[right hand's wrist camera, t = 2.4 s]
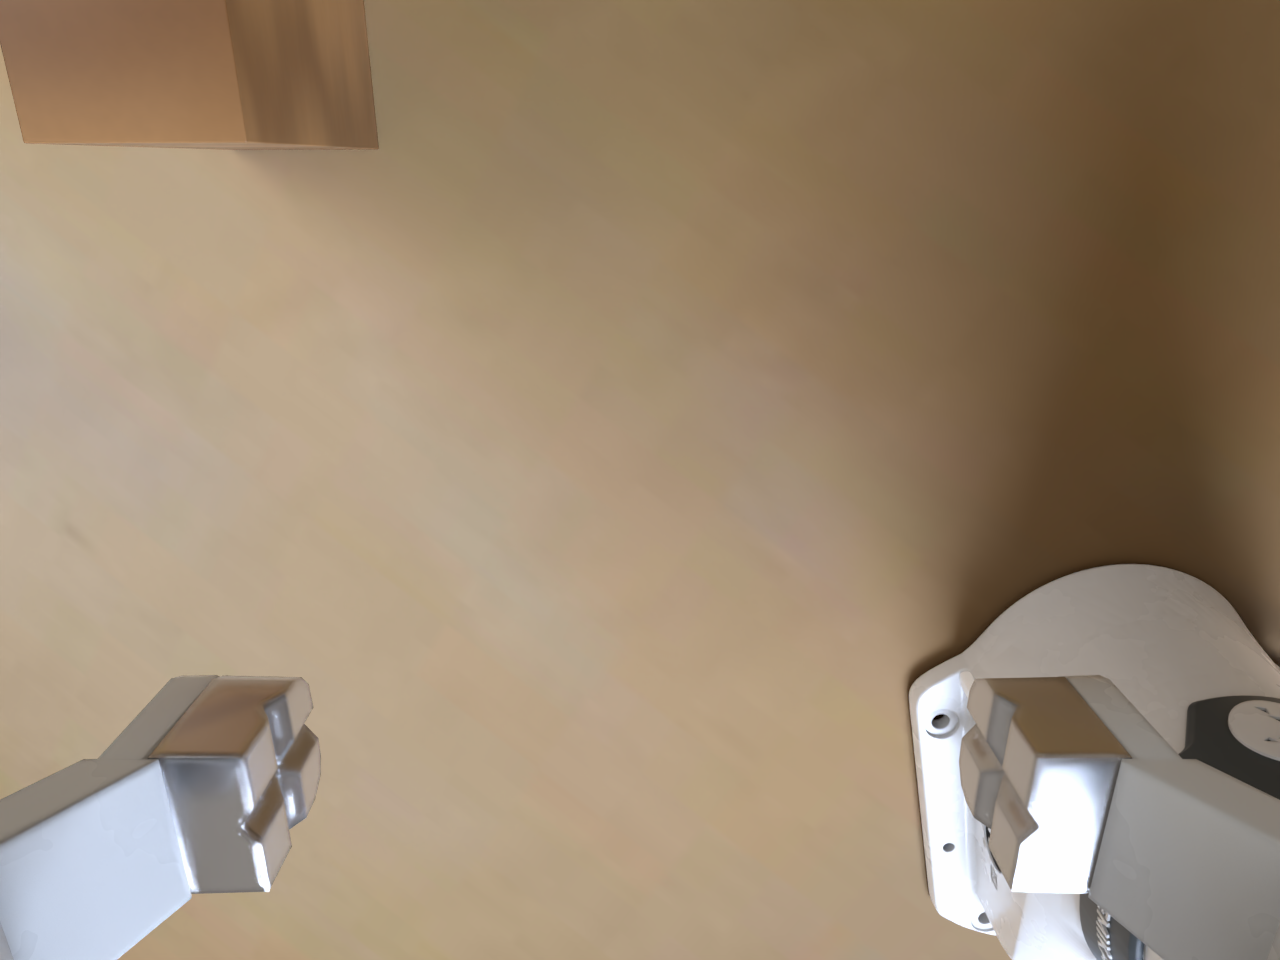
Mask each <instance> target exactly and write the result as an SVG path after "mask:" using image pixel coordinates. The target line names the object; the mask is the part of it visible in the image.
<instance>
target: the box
mask: <svg viewBox="0 0 1280 960" xmlns="http://www.w3.org/2000/svg"><path fill="white" fill-rule="evenodd" d="M0 44H1V48H2V52H3V57H4V61H5V65H6V69H7V73H8V78H9V82H10V86H11V90H12V94H13V99H14V103H15V107H16V111H17V115H18V120H19V124H20V128H21V132H22V137H23V141H24V143H29V144H62V145H95V146H128V147H162V148H195V149H228V150H258V149H378V148H379V147H378V137H377V127H376V118H375V108H374V98H373V88H372V79H371V69H370V59H369V49H368V40H367V30H366V20H365V10H364V0H0Z"/></svg>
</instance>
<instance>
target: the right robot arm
mask: <svg viewBox="0 0 1280 960" xmlns="http://www.w3.org/2000/svg"><path fill="white" fill-rule="evenodd" d="M909 707H910V716H911V726H912V736H913V745H914V755H915V764H916V774H917V784H918V793H919V803H920V812H921V822H922V831H923V841H924V851H925V860H926V870H927V879H928V888H929V894H930V898H931V901H932V902H933V904H934V906H935V908H936V910H937V912H938V913H939V914H940V915H941V916H943V917H945V918H946V919H948V920H950V921H952V922H954V923H956V924H958V925H961V926H963V927H966V928H969V929H972V930H975V931H978V932H982V933H986V934H991V935H996V936H997V937H998V939H999V941H1000V943H1001V945H1002V946H1003V948H1004V950H1005V951H1006V953H1007V954H1008V955H1009V957H1010V958H1011V959H1012V960H1280V667H1279V666H1278V665H1276V664H1275V663H1274V662H1273V661H1272V660H1271V658H1270V657H1269V656H1268V655H1267V654H1266V652H1265V651H1264V650H1263V649H1262V647H1261V646H1260V645H1259V644H1258V642H1257V641H1256V640H1255V638H1254V637H1253V636H1252V634H1251V633H1250V631H1249V630H1248V629H1247V627H1246V626H1245V624H1244V622H1243V621H1242V619H1241V618H1240V616H1239V615H1238V613H1237V612H1236V611H1235V609H1234V608H1233V607H1232V605H1231V604H1230V603H1229V602H1228V601H1227V600H1226V599H1225V598H1224V597H1223V596H1222V595H1221V594H1220V593H1219V592H1218V591H1216V590H1215V589H1214V588H1212V587H1211V586H1209V585H1208V584H1206V583H1205V582H1203V581H1201V580H1199V579H1197V578H1195V577H1193V576H1191V575H1188V574H1186V573H1183V572H1180V571H1177V570H1174V569H1170V568H1166V567H1161V566H1155V565H1146V564H1116V565H1107V566H1101V567H1095V568H1090V569H1086V570H1082V571H1079V572H1075V573H1072V574H1069V575H1066V576H1064V577H1061V578H1059V579H1056V580H1054V581H1051V582H1049V583H1047V584H1045V585H1043V586H1041V587H1039V588H1038V589H1036V590H1034V591H1032V592H1030V593H1029V594H1027V595H1026V596H1024V597H1023V598H1021V599H1020V600H1018V601H1017V602H1016V603H1014V604H1013V605H1012V606H1010V607H1009V608H1008V609H1007V610H1005V611H1004V612H1003V613H1002V614H1001V615H1000V616H999V617H998V618H997V619H995V620H994V621H993V622H992V623H991V625H990V626H989V627H988V628H987V629H986V630H985V631H984V632H983V633H982V634H981V635H980V636H979V638H978V639H977V640H976V641H975V642H974V643H973V644H972V645H971V646H970V647H968V648H967V649H966V650H965V651H964V652H962V653H961V654H959V655H957V656H955V657H953V658H951V659H949V660H947V661H945V662H943V663H941V664H939V665H937V666H936V667H934V668H932V669H930V670H929V671H927V672H926V673H924V674H923V675H921V676H920V677H919V678H918V679H916V681H915V682H914V683H913V684H912V686H911V688H910V691H909ZM312 709H313V703H312V698H311V693H310V688H309V684H308V683H307V682H306V681H305V680H304V679H303V678H302V677H264V676H217V675H193V676H179V677H175V678H172V679H170V680H169V681H168V682H167V684H166V685H165V686H164V687H163V688H162V689H161V690H160V691H159V692H158V693H157V694H156V696H155V697H154V698H153V699H152V700H151V701H150V702H149V703H148V704H147V705H146V706H145V708H144V709H143V710H142V711H141V712H140V713H139V714H138V715H137V716H136V717H135V719H134V720H133V721H132V722H131V723H130V724H129V725H128V726H127V727H126V728H125V729H124V731H123V732H122V733H121V734H120V735H119V736H118V737H117V738H116V739H115V740H114V741H113V743H112V744H111V745H110V746H109V747H108V748H107V749H106V750H105V751H104V752H103V753H102V755H101V756H100V757H99V758H98V759H83V760H81V761H79V762H77V763H75V764H73V765H71V766H69V767H67V768H65V769H63V770H60V771H58V772H56V773H54V774H52V775H50V776H48V777H46V778H44V779H42V780H40V781H38V782H36V783H34V784H32V785H30V786H28V787H25V788H23V789H21V790H19V791H17V792H15V793H13V794H11V795H9V796H7V797H5V798H3V799H1V800H0V960H117V959H118V958H119V957H121V956H122V955H123V954H124V953H125V952H127V951H128V950H129V949H130V948H131V947H133V946H134V945H135V944H136V943H138V942H139V941H140V940H141V939H142V938H144V937H145V936H146V935H147V934H148V933H150V932H151V931H152V930H153V929H154V928H156V927H157V926H158V925H159V924H161V923H162V922H163V921H164V920H165V919H167V918H168V917H169V916H170V915H171V914H173V913H174V912H175V911H176V910H178V909H179V908H180V907H181V906H182V905H184V904H185V903H186V902H187V901H188V900H190V899H191V897H192V896H191V894H200V893H234V892H268V891H269V890H270V888H271V886H272V884H273V882H274V880H275V878H276V876H277V874H278V872H279V870H280V868H281V866H282V864H283V862H284V860H285V858H286V857H287V855H288V853H289V851H290V849H291V847H292V844H291V838H290V833H289V829H291V828H292V827H293V826H295V825H296V824H298V823H299V822H301V821H302V820H304V819H305V818H306V817H307V815H308V813H309V811H310V809H311V807H312V805H313V803H314V800H315V798H316V793H317V789H318V784H319V780H320V775H321V753H320V746H319V739H318V737H317V736H316V735H315V734H314V733H313V732H312V731H311V730H310V729H309V728H308V727H307V726H306V725H305V724H304V723H305V721H306V719H307V718H308V716H309V714H310V712H311V711H312ZM939 714H944V715H943V717H942V718H940V719H937V720H932V719H933V718H934V717H935V716H936V715H939Z"/></svg>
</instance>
